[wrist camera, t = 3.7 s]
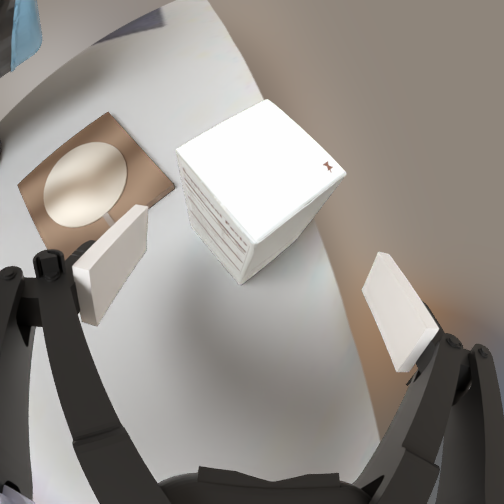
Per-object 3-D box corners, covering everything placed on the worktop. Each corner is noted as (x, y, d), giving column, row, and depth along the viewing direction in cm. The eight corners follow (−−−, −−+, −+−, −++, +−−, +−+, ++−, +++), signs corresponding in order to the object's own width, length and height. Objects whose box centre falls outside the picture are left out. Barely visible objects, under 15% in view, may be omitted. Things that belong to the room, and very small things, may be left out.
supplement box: (249, 184, 29) (270, 94, 17) (298, 240, 28) (353, 173, 16) (188, 226, 27) (171, 146, 15) (238, 288, 26) (257, 247, 14)
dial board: (21, 188, 26) (16, 183, 25) (110, 116, 30) (107, 110, 29) (67, 279, 24) (61, 276, 23) (174, 188, 28) (172, 182, 27)
